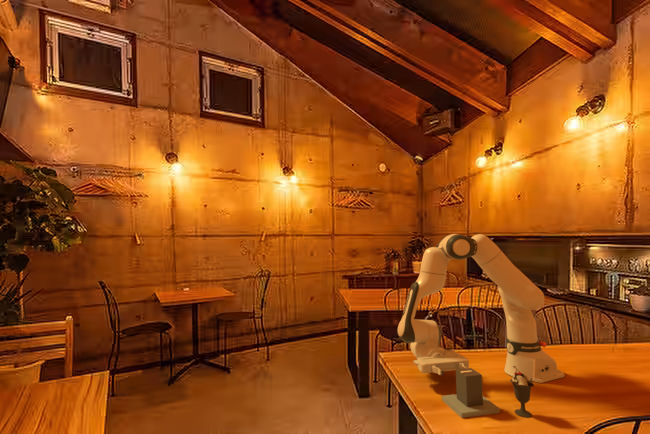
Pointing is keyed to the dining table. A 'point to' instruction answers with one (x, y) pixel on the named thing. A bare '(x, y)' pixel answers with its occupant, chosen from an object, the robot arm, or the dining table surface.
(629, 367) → the dining table surface
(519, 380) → the sundae
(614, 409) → the dining table surface
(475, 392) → the slotted ballot box
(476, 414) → the post
